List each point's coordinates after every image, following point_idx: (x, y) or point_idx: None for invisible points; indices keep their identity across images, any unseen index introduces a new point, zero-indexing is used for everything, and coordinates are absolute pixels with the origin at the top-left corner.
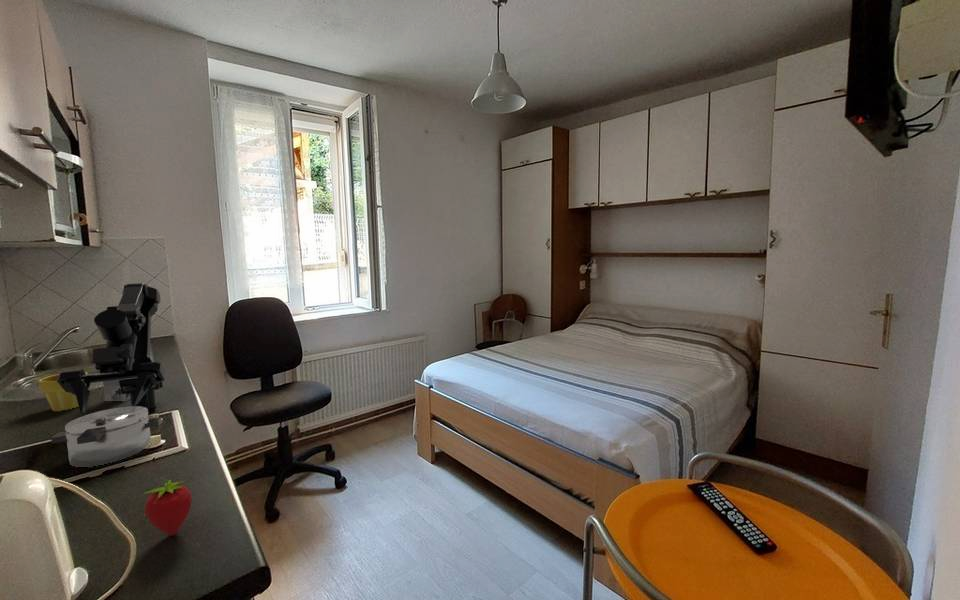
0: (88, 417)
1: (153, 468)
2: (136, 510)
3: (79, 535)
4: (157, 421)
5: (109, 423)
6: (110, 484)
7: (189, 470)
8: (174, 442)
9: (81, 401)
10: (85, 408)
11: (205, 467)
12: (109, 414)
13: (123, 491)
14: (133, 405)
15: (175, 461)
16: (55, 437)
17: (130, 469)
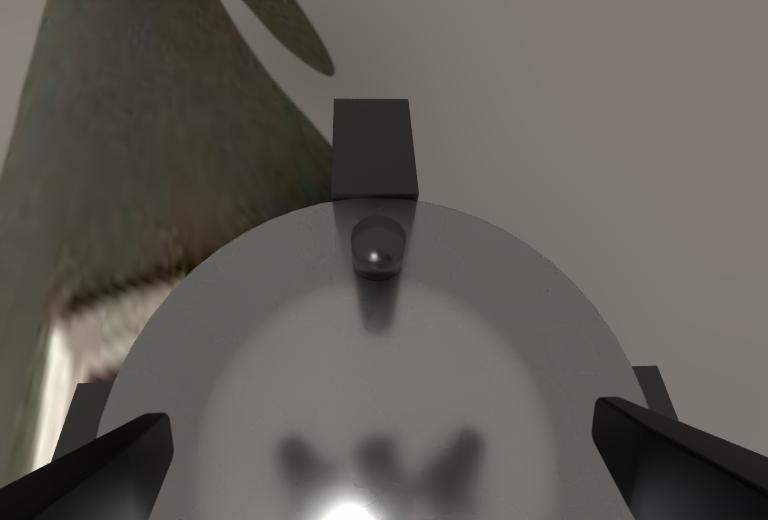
0: (565, 503)
1: (190, 199)
2: (216, 36)
3: (298, 10)
4: (84, 385)
5: (330, 258)
6: (296, 154)
7: (92, 143)
8: None
9: (701, 448)
10: (626, 491)
11: (47, 141)
12: (408, 515)
13: (255, 109)
14: (170, 437)
15: (120, 220)
16: (635, 366)
17: (260, 224)
